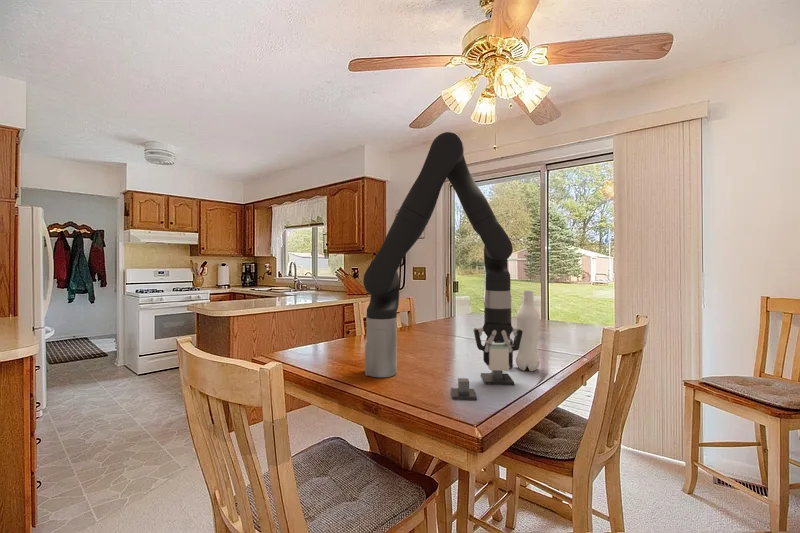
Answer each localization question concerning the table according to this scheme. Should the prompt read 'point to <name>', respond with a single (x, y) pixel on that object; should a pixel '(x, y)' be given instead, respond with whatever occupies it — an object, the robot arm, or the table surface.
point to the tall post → (497, 378)
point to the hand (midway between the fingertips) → (497, 364)
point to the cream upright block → (498, 357)
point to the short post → (463, 391)
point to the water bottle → (528, 333)
